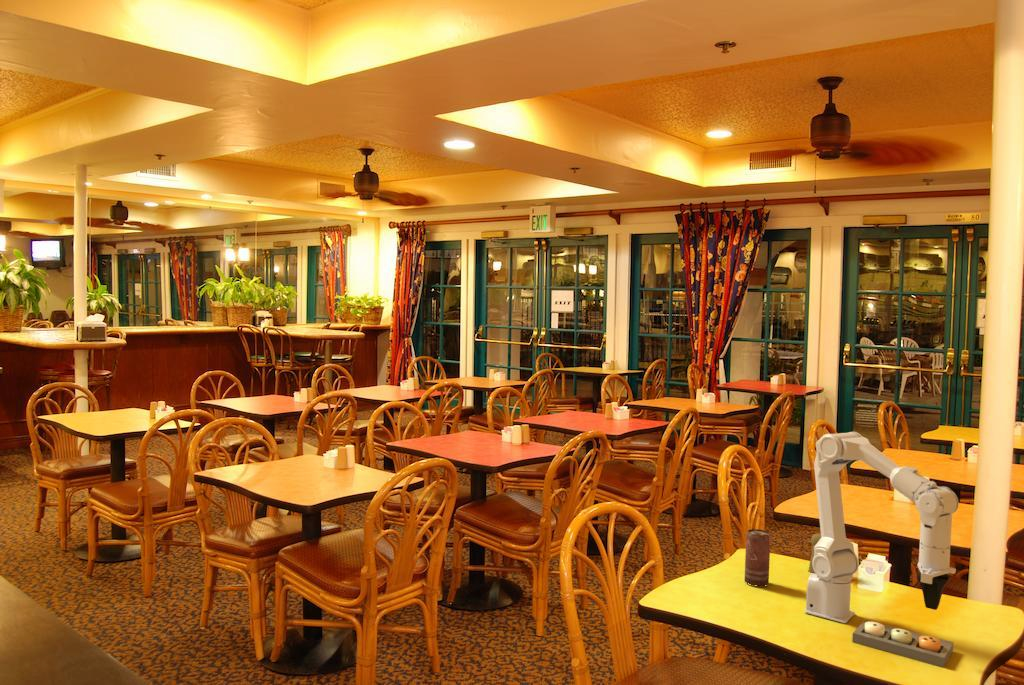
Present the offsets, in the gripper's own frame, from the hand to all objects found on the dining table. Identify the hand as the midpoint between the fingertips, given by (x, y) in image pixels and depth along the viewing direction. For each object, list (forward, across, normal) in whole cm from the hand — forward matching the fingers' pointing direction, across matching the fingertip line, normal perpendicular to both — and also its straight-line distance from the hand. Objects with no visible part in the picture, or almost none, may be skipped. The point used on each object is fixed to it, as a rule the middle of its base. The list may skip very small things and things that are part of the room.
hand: (931, 607), depth 165 cm
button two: (+9, 0, +6) cm, 11 cm away
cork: (+11, +37, +34) cm, 52 cm away
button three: (+9, 0, 0) cm, 9 cm away
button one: (+9, 0, +11) cm, 14 cm away
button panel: (+10, +1, +6) cm, 12 cm away
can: (+11, +17, +44) cm, 49 cm away
